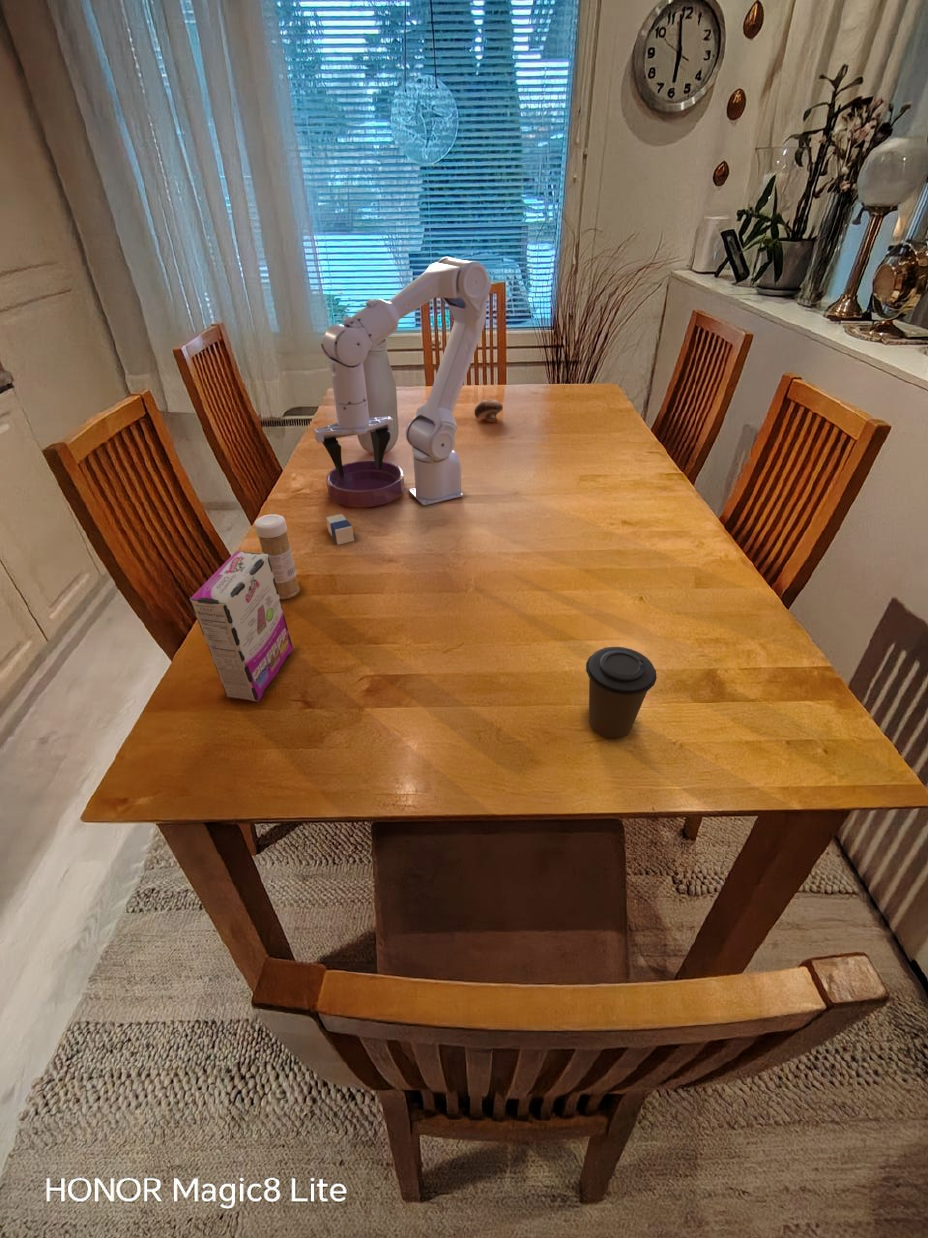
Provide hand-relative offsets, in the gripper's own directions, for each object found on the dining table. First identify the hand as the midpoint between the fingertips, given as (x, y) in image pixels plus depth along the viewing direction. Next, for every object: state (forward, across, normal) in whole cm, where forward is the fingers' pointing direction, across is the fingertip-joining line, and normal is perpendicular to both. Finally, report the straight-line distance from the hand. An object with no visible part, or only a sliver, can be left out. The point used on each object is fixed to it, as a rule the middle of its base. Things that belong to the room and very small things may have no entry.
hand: (359, 471), depth 114 cm
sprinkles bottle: (+10, -21, -20) cm, 31 cm away
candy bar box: (+10, -29, -38) cm, 49 cm away
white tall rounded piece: (+10, +15, +31) cm, 36 cm away
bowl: (+9, +4, +10) cm, 14 cm away
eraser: (+9, -7, -6) cm, 13 cm away
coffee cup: (+10, +8, -68) cm, 69 cm away
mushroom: (+10, +50, +38) cm, 64 cm away
